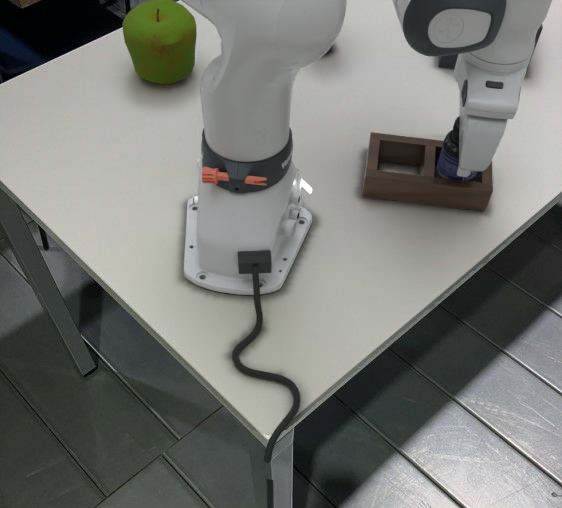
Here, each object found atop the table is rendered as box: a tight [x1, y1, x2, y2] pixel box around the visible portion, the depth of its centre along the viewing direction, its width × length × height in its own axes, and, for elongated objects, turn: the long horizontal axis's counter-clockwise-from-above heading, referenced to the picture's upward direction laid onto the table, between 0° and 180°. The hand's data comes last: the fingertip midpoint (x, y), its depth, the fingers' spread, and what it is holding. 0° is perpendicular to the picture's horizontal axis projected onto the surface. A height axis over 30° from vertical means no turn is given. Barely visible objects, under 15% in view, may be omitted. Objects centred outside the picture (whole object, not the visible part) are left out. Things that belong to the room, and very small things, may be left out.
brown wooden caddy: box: [361, 131, 494, 212], centre depth 96 cm, size 10×19×4 cm, turn 81°
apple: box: [121, 0, 198, 86], centre depth 106 cm, size 12×12×11 cm
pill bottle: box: [434, 115, 477, 182], centre depth 92 cm, size 6×6×11 cm
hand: (462, 153), depth 92 cm, fingers open, 7 cm apart
